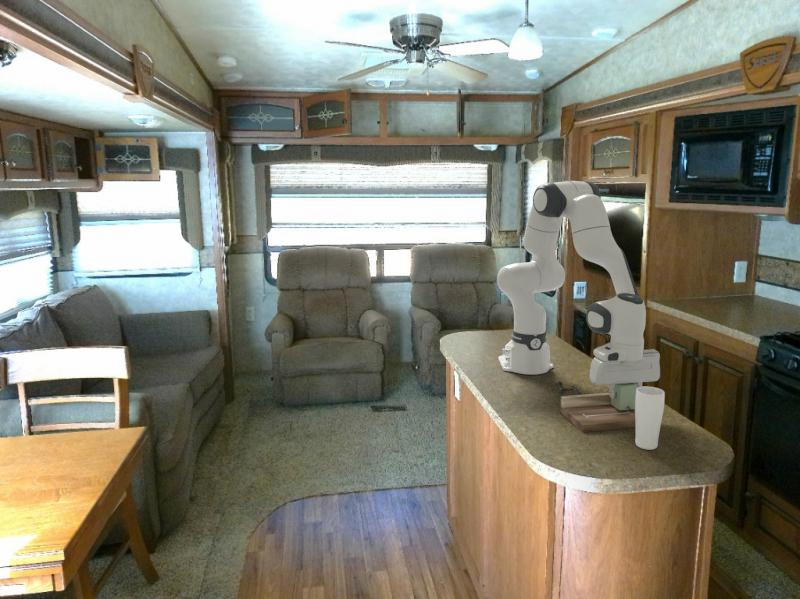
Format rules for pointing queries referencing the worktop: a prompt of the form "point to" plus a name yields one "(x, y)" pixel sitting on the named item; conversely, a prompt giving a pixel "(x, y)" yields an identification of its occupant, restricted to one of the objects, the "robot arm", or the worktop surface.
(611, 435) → the worktop surface
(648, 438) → the drinking glass
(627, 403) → the block
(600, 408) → the walnut board
